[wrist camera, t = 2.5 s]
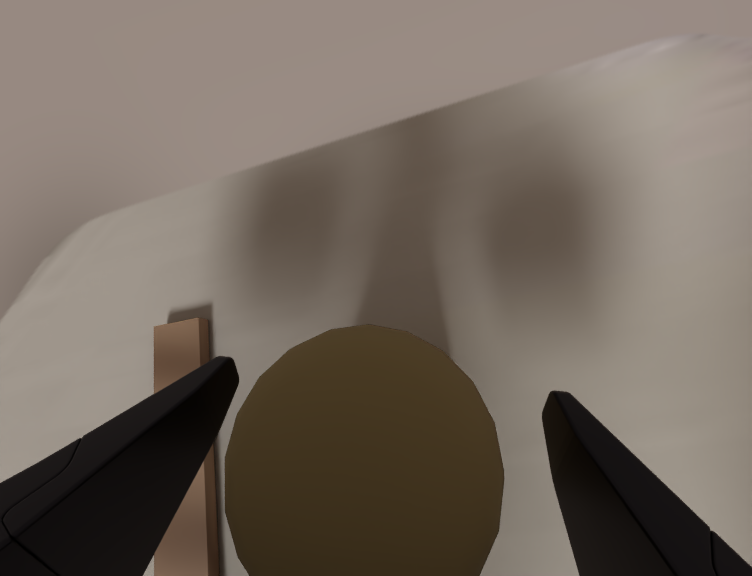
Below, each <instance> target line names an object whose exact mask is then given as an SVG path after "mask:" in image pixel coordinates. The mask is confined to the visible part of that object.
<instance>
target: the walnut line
mask: <svg viewBox="0 0 752 576" xmlns="http://www.w3.org/2000/svg"><path fill="white" fill-rule="evenodd" d="M209 361H210V356H209V333H208V320H206V319H203V318H199V317H198V318H193V319H188V320H184V321H179V322H174V323H169V324H164V325H159V326H154V394H155V393H156V392H158V391H160V390H162V389H163V388H165V387H167V386H168V385H170V384H172V383H173V382H175V381H177V380H178V379H180V378H182V377H183V376H185V375H187V374H188V373H190V372H192V371H193V370H195V369H197V368H198V367H200V366H202V365H204V364H205V363H207V362H209ZM154 576H219V554H218V532H217V510H216V488H215V466H214V444H213V445H212V446H211V448H210V450H209V452H208V454H207V456H206V458H205V460H204V461H203V463H202V465H201V467H200V469H199V471H198V473H197V475H196V477H195V478H194V480H193V482H192V484H191V486H190V488H189V490H188V492H187V493H186V495H185V497H184V499H183V501H182V503H181V505H180V507H179V508H178V510H177V512H176V514H175V516H174V518H173V520H172V522H171V523H170V525H169V527H168V529H167V531H166V533H165V535H164V537H163V538H162V540H161V542H160V544H159V546H158V548H157V550H156V552H155V554H154Z"/></svg>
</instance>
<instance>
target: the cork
mask: <svg viewBox="0 0 752 576" xmlns="http://www.w3.org/2000/svg"><path fill="white" fill-rule="evenodd" d="M503 486H504V468H503V463H502V458H501V453H500V448H499V443H498V438H497V432H496V427H495V423H494V421H493V419H492V417H491V415H490V413H489V411H488V409H487V407H486V405H485V404H484V402H483V400H482V398H481V396H480V394H479V392H478V390H477V388H476V386H475V384H474V382H473V381H472V380H471V379H470V378H469V377H468V376H467V375H466V374H465V373H464V372H463V371H462V370H461V369H460V368H459V367H458V366H457V365H456V364H455V363H454V362H453V361H452V360H451V359H450V358H449V357H448V356H447V355H446V354H445V353H444V352H443V351H442V350H440V349H438V348H437V347H435V346H433V345H431V344H429V343H427V342H425V341H424V340H422V339H420V338H418V337H416V336H414V335H412V334H411V333H409V332H407V331H401V330H396V329H391V328H385V327H380V326H375V325H369V324H368V325H360V326H353V327H345V328H338V329H331V330H328V331H326V332H324V333H322V334H320V335H318V336H316V337H314V338H312V339H310V340H307V341H305V342H303V343H301V344H299V345H297V346H295V347H293V348H291V349H289V350H288V351H287V352H286V353H285V354H284V355H283V356H282V357H281V358H280V359H279V360H278V361H276V362H275V363H274V364H273V365H272V366H271V367H270V368H269V369H268V370H267V371H266V372H264V373H263V374H262V375H261V376H260V377H259V379H258V380H257V382H256V384H255V385H254V387H253V389H252V390H251V392H250V393H249V395H248V397H247V398H246V400H245V402H244V403H243V405H242V407H241V408H240V410H239V412H238V413H237V416H236V420H235V423H234V427H233V431H232V434H231V438H230V441H229V445H228V449H227V452H226V456H225V513H226V517H227V520H228V524H229V527H230V531H231V535H232V538H233V542H234V545H235V549H236V552H237V556H238V558H239V560H240V561H241V563H242V565H243V566H244V568H245V569H246V571H247V573H248V574H249V576H480V573H481V571H482V569H483V566H484V564H485V562H486V560H487V557H488V555H489V553H490V550H491V548H492V546H493V543H494V541H495V539H496V537H497V534H498V532H499V525H500V515H501V506H502V496H503Z"/></svg>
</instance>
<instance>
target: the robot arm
mask: <svg viewBox="0 0 752 576" xmlns="http://www.w3.org/2000/svg"><path fill="white" fill-rule="evenodd" d="M238 384H239V375H238V372H237V369H236V366H235V362H234V360H233V359H232V358H231V357H224V356H218V357H215V358H214V359H212V360H210V361H209V362H207V363H205V364H204V365H202V366H200V367H198V368H197V369H195V370H193V371H192V372H190V373H188V374H187V375H185V376H183V377H182V378H180V379H178V380H177V381H175V382H173V383H172V384H170V385H168V386H167V387H165V388H163V389H162V390H160V391H158V392H156V393H155V394H153V395H151V396H150V397H148V398H146V399H145V400H143V401H141V402H140V403H138V404H136V405H135V406H133V407H131V408H130V409H128V410H126V411H125V412H123V413H121V414H119V415H118V416H116V417H114V418H113V419H111V420H109V421H108V422H106V423H104V424H103V425H101V426H99V427H98V428H96V429H94V430H93V431H91V432H89V433H87V434H86V435H84V436H83V437H82V438H79V439H77V440H76V441H74V442H72V443H71V444H69V445H67V446H66V447H64V448H62V449H60V450H59V451H57V452H55V453H54V454H52V455H50V456H48V457H47V458H45V459H43V460H41V461H40V462H38V463H36V464H34V465H33V466H31V467H29V468H27V469H25V470H23V471H22V472H20V473H18V474H16V475H14V476H12V477H11V478H9V479H7V480H5V481H3V482H1V483H0V576H143V574H144V572H145V570H146V569H147V567H148V565H149V563H150V561H151V559H152V557H153V555H154V554H155V552H156V550H157V548H158V546H159V544H160V542H161V540H162V538H163V537H164V535H165V533H166V531H167V529H168V527H169V525H170V523H171V522H172V520H173V518H174V516H175V514H176V512H177V510H178V508H179V507H180V505H181V503H182V501H183V499H184V497H185V495H186V493H187V492H188V490H189V488H190V486H191V484H192V482H193V480H194V478H195V477H196V475H197V473H198V471H199V469H200V467H201V465H202V463H203V461H204V460H205V458H206V456H207V454H208V452H209V450H210V448H211V446H212V445H213V443H214V441H215V439H216V437H217V435H218V433H219V430H220V428H221V426H222V424H223V421H224V419H225V416H226V414H227V411H228V409H229V406H230V404H231V402H232V399H233V397H234V394H235V392H236V389H237V387H238ZM542 422H543V428H544V434H545V439H546V445H547V451H548V457H549V463H550V469H551V474H552V479H553V483H554V487H555V491H556V495H557V498H558V502H559V505H560V509H561V512H562V516H563V519H564V523H565V526H566V530H567V533H568V537H569V540H570V544H571V547H572V551H573V554H574V558H575V561H576V565H577V568H578V572H579V575H580V576H752V567H751V566H750V565H749V564H748V563H747V562H746V561H745V560H744V559H743V558H741V557H740V556H739V555H738V554H737V553H736V552H735V551H734V550H733V549H732V548H731V547H730V546H729V545H728V544H727V543H726V542H725V541H724V540H723V539H722V538H720V537H719V536H718V535H717V534H716V533H715V532H714V531H710V527H709V526H708V525H707V524H706V523H705V522H704V521H703V520H702V519H700V518H699V517H698V516H697V515H696V514H695V513H694V512H693V511H692V510H691V509H690V508H689V507H688V506H687V505H686V504H685V503H684V502H683V501H682V500H681V499H680V498H679V497H678V496H677V495H676V494H674V493H673V492H672V491H671V490H670V489H669V488H668V487H667V486H666V485H665V484H664V483H663V482H662V481H661V480H660V479H659V478H658V477H657V476H656V475H655V474H654V473H653V472H652V471H651V470H649V469H648V468H647V467H646V466H645V465H644V464H643V463H642V462H641V461H640V460H639V459H638V458H637V457H636V456H635V455H634V454H633V453H632V452H631V451H630V450H629V449H628V448H627V447H626V446H624V445H623V444H622V443H621V442H620V441H619V440H618V439H617V438H616V437H615V436H614V435H613V434H612V433H611V432H610V431H609V430H608V429H607V428H606V427H605V426H604V425H603V424H602V423H601V422H599V421H598V420H597V419H596V418H595V417H594V416H593V415H592V414H591V413H590V412H589V411H588V410H587V409H586V408H585V407H584V406H583V405H582V404H581V403H580V402H579V401H578V400H577V399H576V398H574V397H573V396H572V395H571V394H570V393H568V392H564V391H551V392H550V393H549V395H548V398H547V401H546V403H545V406H544V409H543V412H542Z"/></svg>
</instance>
